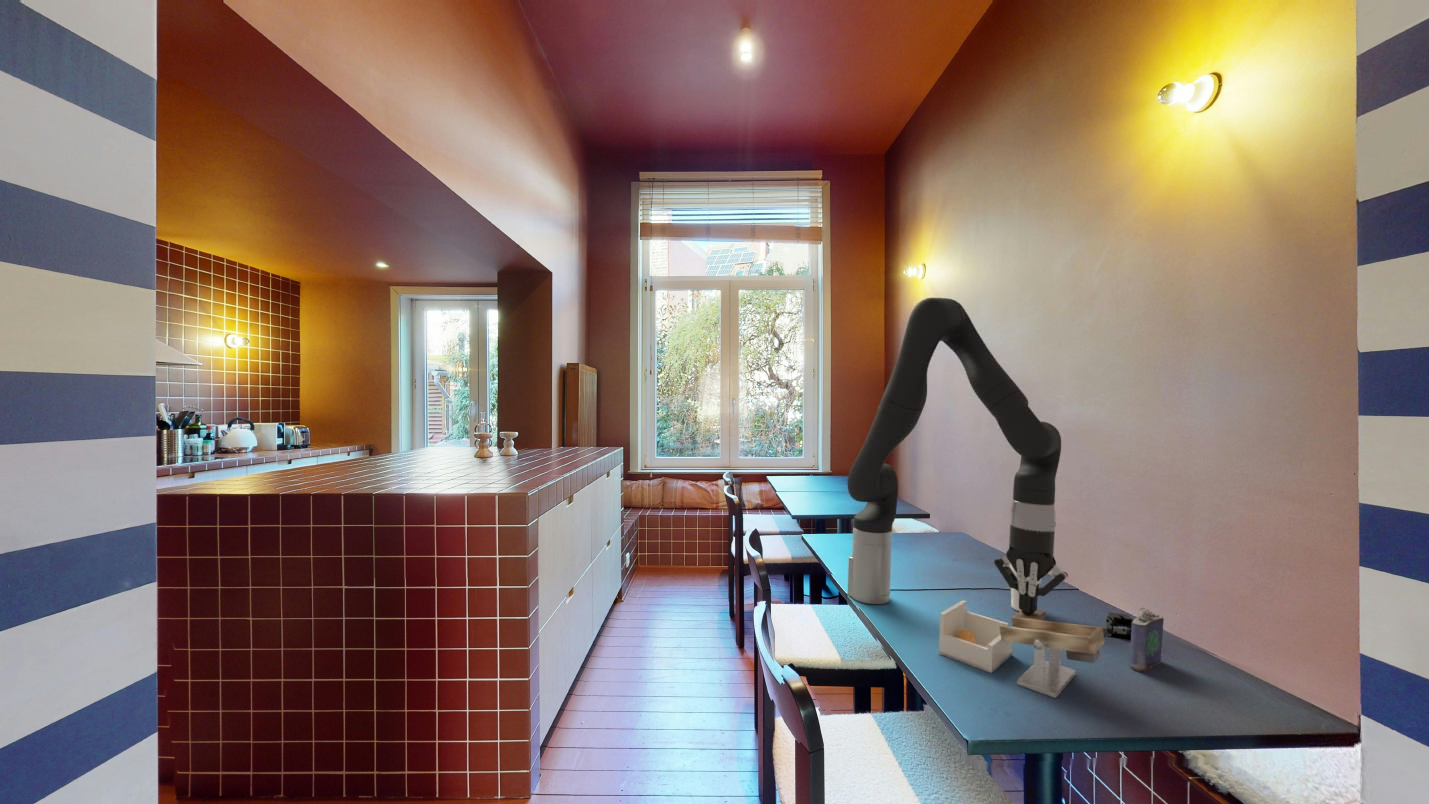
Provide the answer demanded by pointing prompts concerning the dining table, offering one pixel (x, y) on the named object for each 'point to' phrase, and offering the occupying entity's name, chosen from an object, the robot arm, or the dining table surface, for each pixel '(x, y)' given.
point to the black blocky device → (1116, 621)
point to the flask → (1146, 641)
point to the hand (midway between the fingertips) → (1027, 613)
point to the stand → (1046, 671)
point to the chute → (1056, 635)
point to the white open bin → (987, 638)
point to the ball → (966, 636)
